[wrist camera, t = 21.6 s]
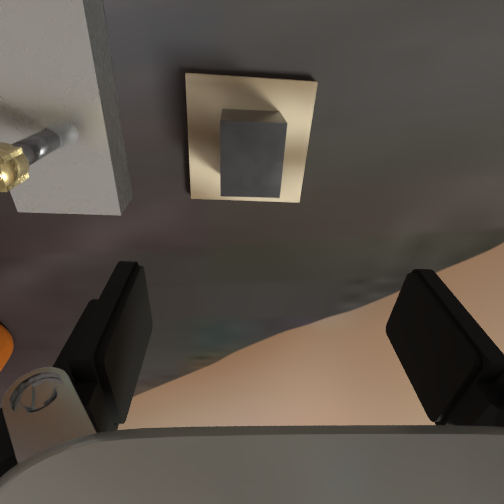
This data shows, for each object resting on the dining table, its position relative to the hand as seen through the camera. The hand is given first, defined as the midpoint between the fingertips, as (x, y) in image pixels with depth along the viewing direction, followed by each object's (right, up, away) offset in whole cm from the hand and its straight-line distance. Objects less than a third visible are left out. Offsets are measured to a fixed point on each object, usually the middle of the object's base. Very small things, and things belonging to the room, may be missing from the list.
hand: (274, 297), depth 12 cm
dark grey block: (-1, +11, +18) cm, 21 cm away
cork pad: (-1, +12, +19) cm, 22 cm away
